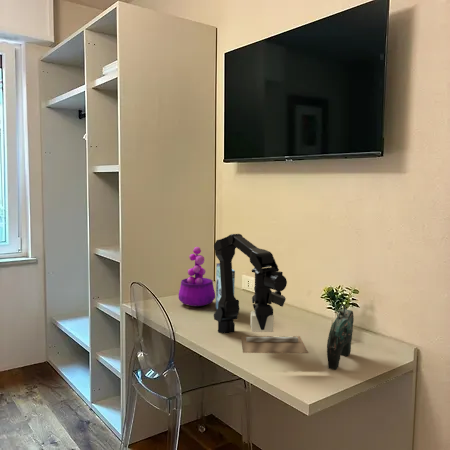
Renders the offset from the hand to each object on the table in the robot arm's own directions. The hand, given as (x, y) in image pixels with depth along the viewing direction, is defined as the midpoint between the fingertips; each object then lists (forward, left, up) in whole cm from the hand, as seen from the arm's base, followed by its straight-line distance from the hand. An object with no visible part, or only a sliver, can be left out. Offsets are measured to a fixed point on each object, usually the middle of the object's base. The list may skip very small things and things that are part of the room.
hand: (261, 327), depth 172 cm
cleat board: (+5, +5, -10) cm, 12 cm away
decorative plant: (-27, +65, -10) cm, 71 cm away
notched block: (0, 0, -1) cm, 1 cm away
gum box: (-13, +49, -10) cm, 52 cm away
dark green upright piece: (+28, -8, -10) cm, 30 cm away
